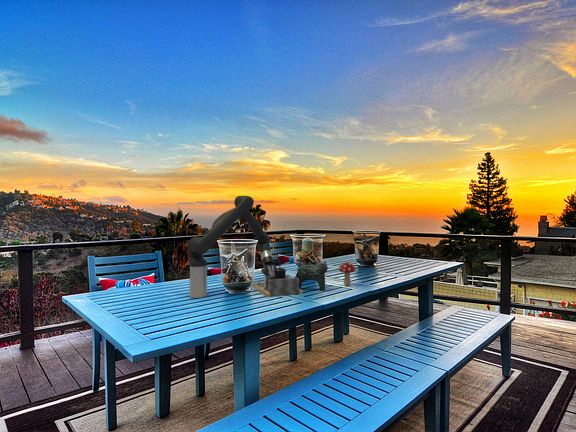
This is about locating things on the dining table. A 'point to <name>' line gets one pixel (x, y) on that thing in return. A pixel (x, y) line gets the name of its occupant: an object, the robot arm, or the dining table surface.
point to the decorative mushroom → (347, 272)
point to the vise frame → (279, 287)
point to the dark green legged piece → (312, 273)
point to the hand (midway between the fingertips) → (273, 281)
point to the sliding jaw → (271, 279)
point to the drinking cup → (279, 272)
